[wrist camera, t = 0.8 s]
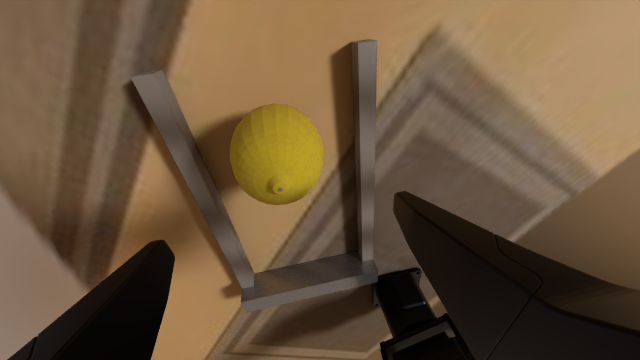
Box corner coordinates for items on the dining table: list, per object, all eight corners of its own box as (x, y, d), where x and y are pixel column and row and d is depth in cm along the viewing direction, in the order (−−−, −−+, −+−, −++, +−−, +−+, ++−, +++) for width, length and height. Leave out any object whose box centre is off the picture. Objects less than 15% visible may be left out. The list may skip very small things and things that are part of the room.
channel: (368, 259, 28) (377, 281, 26) (248, 286, 27) (246, 312, 25) (368, 39, 16) (387, 41, 13) (142, 72, 14) (115, 81, 12)
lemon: (236, 157, 18) (217, 229, 12) (240, 83, 16) (217, 124, 9) (305, 165, 20) (322, 233, 13) (320, 99, 17) (351, 144, 10)
